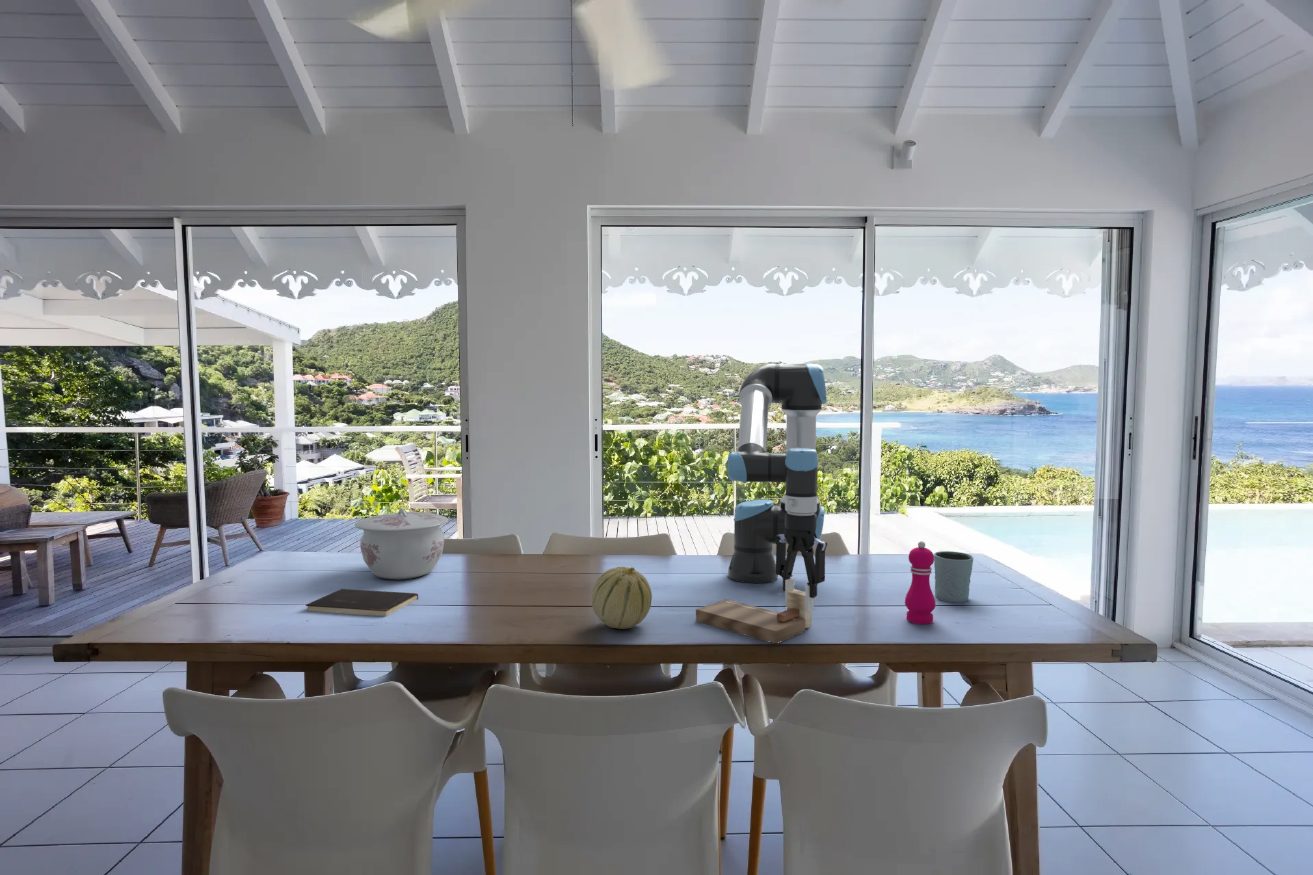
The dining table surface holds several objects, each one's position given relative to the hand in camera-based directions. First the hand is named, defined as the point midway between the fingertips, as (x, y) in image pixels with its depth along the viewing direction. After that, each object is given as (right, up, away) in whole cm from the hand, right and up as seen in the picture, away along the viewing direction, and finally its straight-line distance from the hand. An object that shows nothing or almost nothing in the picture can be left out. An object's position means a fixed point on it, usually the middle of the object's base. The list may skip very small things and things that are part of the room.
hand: (799, 607), depth 181 cm
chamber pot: (-113, -1, +50) cm, 123 cm away
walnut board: (-12, -5, +1) cm, 13 cm away
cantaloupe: (-43, -5, 0) cm, 43 cm away
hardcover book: (-113, -4, +18) cm, 114 cm away
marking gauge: (-2, -4, -1) cm, 5 cm away
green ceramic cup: (+47, -3, +25) cm, 53 cm away
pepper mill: (+31, -5, +5) cm, 32 cm away
